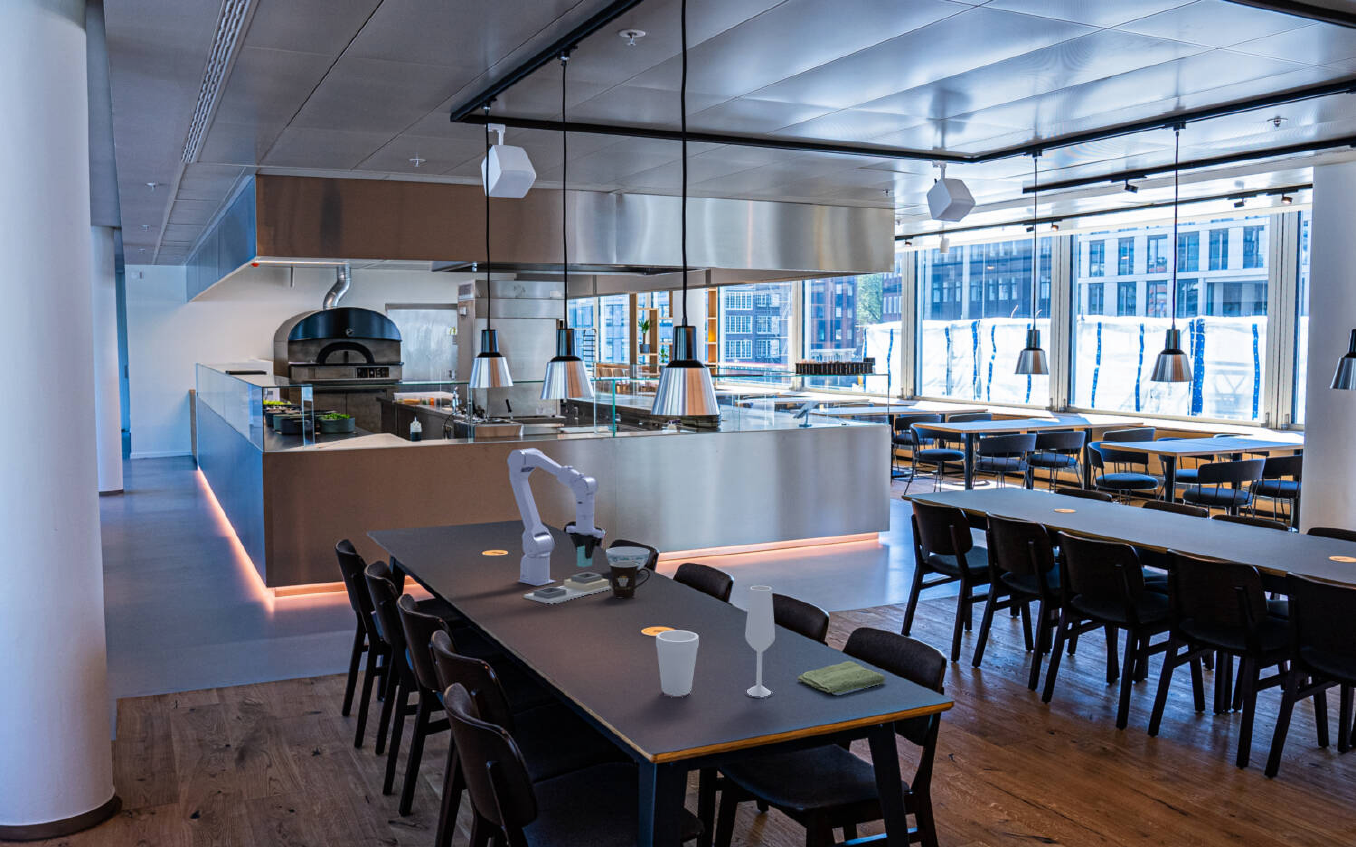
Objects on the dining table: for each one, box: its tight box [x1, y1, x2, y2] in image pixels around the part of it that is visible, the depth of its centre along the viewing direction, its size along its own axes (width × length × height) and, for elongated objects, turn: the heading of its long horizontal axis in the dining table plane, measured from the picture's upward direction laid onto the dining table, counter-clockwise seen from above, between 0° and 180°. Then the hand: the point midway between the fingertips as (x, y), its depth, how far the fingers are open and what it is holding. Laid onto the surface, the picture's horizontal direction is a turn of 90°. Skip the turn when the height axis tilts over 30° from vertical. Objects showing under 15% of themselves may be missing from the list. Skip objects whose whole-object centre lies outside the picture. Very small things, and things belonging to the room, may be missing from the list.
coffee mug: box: [609, 561, 651, 599], centre depth 317 cm, size 12×9×10 cm
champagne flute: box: [744, 585, 776, 697], centre depth 228 cm, size 7×7×24 cm
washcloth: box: [797, 660, 886, 694], centre depth 237 cm, size 13×18×3 cm
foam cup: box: [655, 629, 700, 696], centre depth 228 cm, size 10×9×13 cm
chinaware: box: [605, 546, 651, 570], centre depth 350 cm, size 15×15×8 cm
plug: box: [576, 546, 594, 568], centre depth 324 cm, size 3×4×6 cm
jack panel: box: [524, 571, 612, 605], centre depth 319 cm, size 12×26×4 cm, turn 141°
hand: (584, 557), depth 324 cm, fingers closed on plug, 3 cm apart
